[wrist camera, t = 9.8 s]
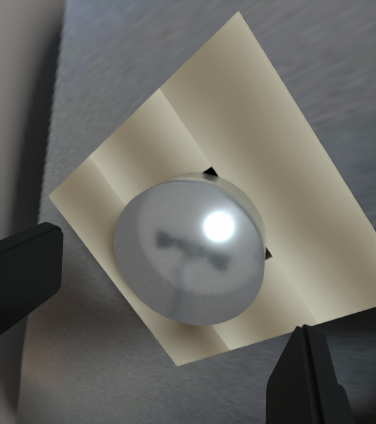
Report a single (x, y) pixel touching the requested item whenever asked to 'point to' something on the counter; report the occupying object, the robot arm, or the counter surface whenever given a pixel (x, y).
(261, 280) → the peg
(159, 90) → the block
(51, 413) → the counter surface
